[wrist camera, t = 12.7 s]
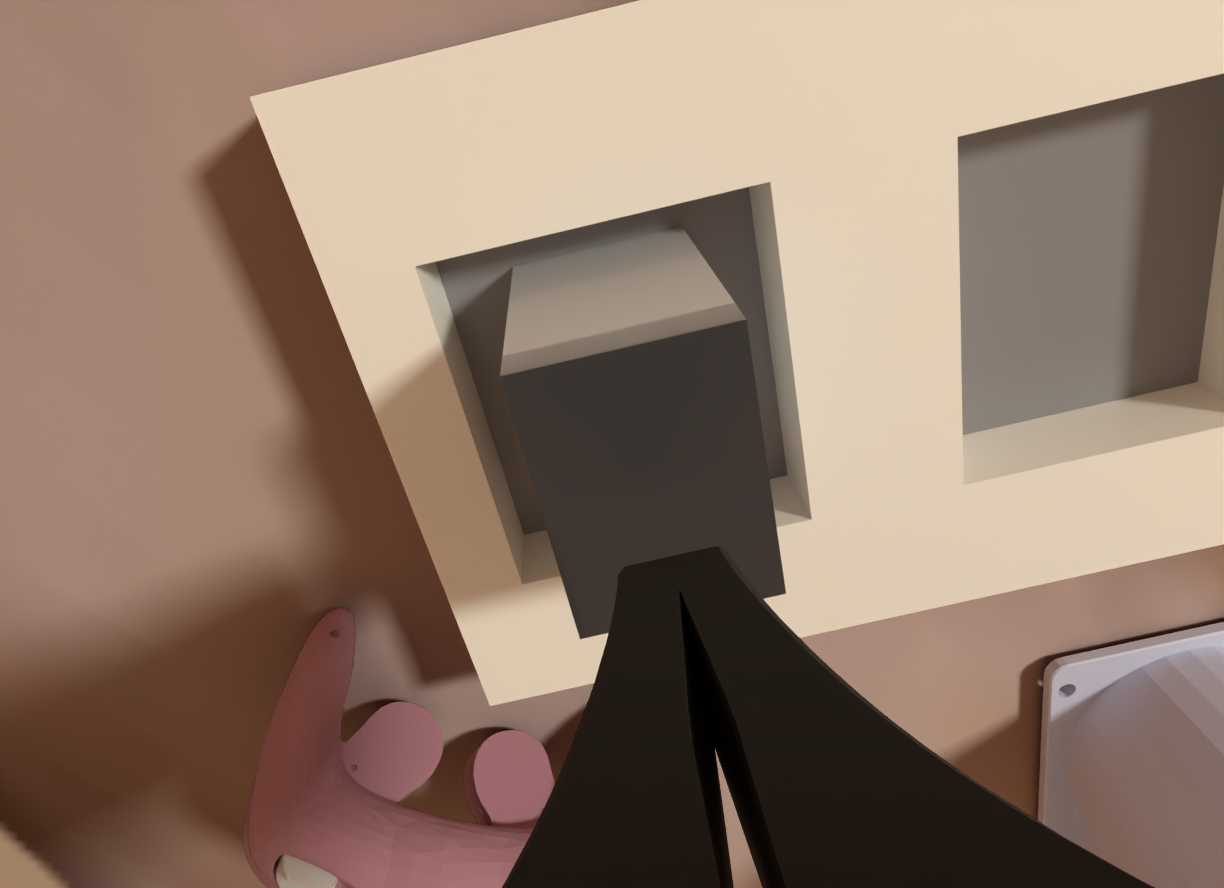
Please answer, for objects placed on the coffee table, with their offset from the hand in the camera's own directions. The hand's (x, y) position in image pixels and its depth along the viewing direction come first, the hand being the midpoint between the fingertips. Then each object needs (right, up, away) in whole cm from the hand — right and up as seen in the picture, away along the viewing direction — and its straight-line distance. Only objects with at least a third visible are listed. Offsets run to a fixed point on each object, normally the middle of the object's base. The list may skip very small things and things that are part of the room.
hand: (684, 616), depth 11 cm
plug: (-1, +4, +7) cm, 9 cm away
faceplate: (+4, +5, +8) cm, 10 cm away
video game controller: (-5, -5, +13) cm, 15 cm away
